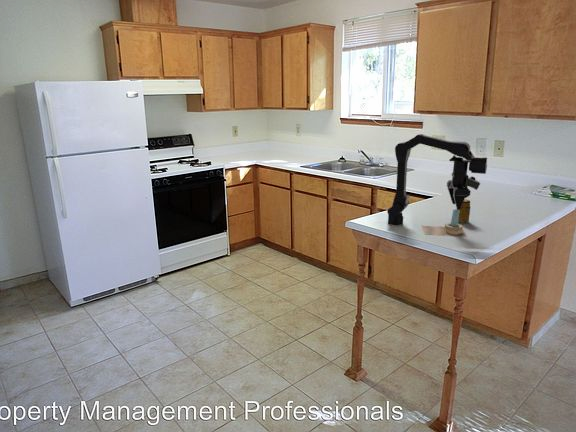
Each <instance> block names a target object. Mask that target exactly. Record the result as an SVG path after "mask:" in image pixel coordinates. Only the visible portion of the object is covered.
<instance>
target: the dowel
mask: <svg viewBox="0 0 576 432" xmlns="http://www.w3.org/2000/svg"><path fill="white" fill-rule="evenodd" d="M459 212H460V210H457V208H456V209H455V208H453V209H452V212H451V213H452V214H451V220H450V223H451V226H452V227H457V224H459V223H458V218H459Z"/></svg>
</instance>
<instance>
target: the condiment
mask: <svg viewBox="0 0 576 432" xmlns="http://www.w3.org/2000/svg"><path fill="white" fill-rule="evenodd" d="M456 210H458V209H457V208H456ZM459 210H460V212H459V218H458V224H460V225H462V224H465V225H466V224H469V223H470V215H471V200H470V199H467V198H465V199H464V201H463V203H462V205H461V208H460V209H459Z"/></svg>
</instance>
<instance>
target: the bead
mask: <svg viewBox="0 0 576 432" xmlns="http://www.w3.org/2000/svg"><path fill="white" fill-rule="evenodd" d="M444 227H445V229H444V231H445V232H446V233H449V234H461V233H462V229H463V228H464V227H463V225H462V224H461V223H458V224H457V227H452V226H451V222H448V223H445V224H444Z"/></svg>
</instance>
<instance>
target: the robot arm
mask: <svg viewBox="0 0 576 432" xmlns="http://www.w3.org/2000/svg"><path fill="white" fill-rule="evenodd" d="M395 145H396V146H395V148H394V152H395V158H396V161H397V169H396V190H395V191H396V192H395V195H394V197H393V202H392V205H391V207H390V208H388V209H387V211H386V212H387V217H388V218H387V224H388V225H391V226H399V225H400V226H401V225H403V224H404V215H403V211H404V210H405V209H406V208H407V207H408V206H409V205H410V197H411V196H410V195H407V189H406V188H407V174H408V172H407V171H408V161H409V158H410V155H411V151H412V149H413V148H415V147H416V146H418V145H424V146H428V147H433V148H436V149H440V150H444V151H446V152H448V153H450V154H452V157H451V158H450V159H449V160H448V161H449V162H453V169H452V172H451V177H452V178H451V180H449V179H448V181H447V182H446V187H447V191H448V194H449V197H450V200H451V203H452V205H455V208H456V210H457V209H458V210H459V209H460V208H461V205H462V203H463V201H464V199H467V198H469V196H471V193H472V192H471V190H470V189H469V187H470V188H472V189H474V190H475V191H477V190H478V189H479V187H480V185H481V182H480V181H478V180H476V177H474V176H473V175H472V176H470V177H469V175H468V171H469V172H470V173H471V174H480V175H481V174H482V175H486V174H487V170H488V157H485V156H484V157H478V156H477V157H475V155H474V154H473V153H472V151H471V145H470V144H469V143H468V142H465V141H455V140H454V141H452V140H451V141H450V140H445V139H441V138H438V137H433V136H430V135H426V134H423V133H419V134H417V135H415V136H414V137H412V138H411V139H409V140H406V141H402V142H399V143H398V144H395Z"/></svg>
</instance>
